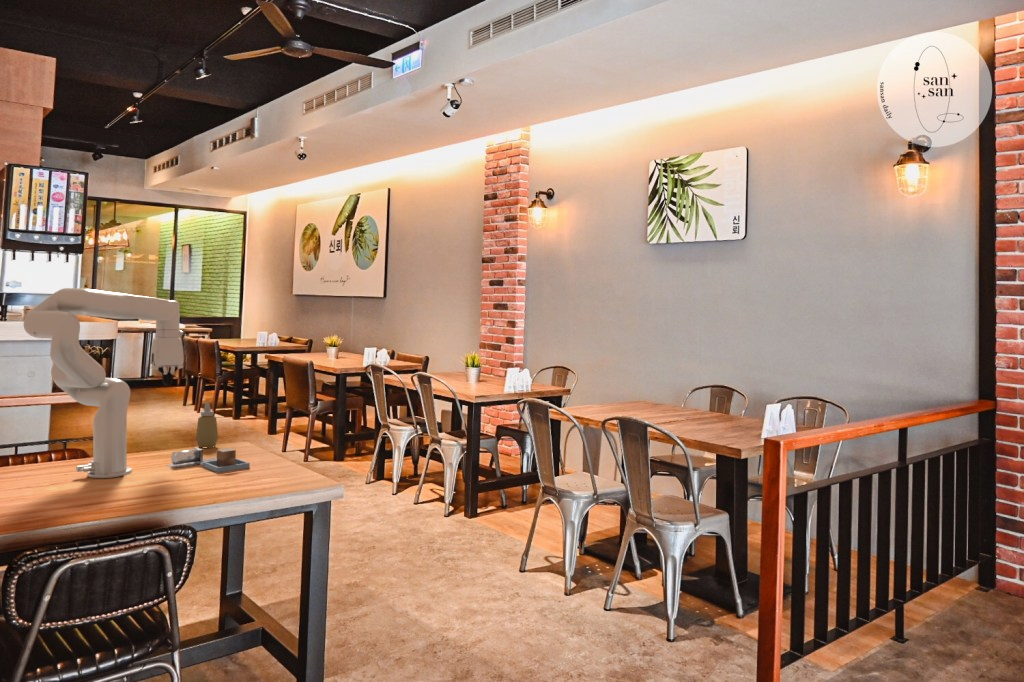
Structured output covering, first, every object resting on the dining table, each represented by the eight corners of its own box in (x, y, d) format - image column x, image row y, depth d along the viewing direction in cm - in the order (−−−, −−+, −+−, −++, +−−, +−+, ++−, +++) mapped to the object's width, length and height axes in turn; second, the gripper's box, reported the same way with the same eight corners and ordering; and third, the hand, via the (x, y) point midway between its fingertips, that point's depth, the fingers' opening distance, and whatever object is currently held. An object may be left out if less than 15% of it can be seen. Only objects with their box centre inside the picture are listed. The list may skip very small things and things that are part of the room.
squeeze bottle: (195, 446, 276) (196, 401, 275) (217, 444, 279) (218, 400, 278) (195, 449, 268) (196, 403, 267) (218, 448, 272) (218, 403, 271)
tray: (217, 474, 231) (217, 467, 231) (202, 468, 239) (202, 462, 239) (249, 469, 240) (249, 462, 240) (234, 463, 247) (234, 457, 247)
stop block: (222, 469, 236) (223, 451, 236) (216, 467, 239) (216, 449, 239) (235, 467, 240) (235, 450, 239) (229, 465, 242) (229, 448, 242)
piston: (177, 466, 237) (177, 453, 237) (170, 463, 241) (170, 450, 240) (202, 462, 244) (202, 449, 243) (196, 460, 247) (196, 447, 247)
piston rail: (174, 469, 236) (174, 468, 236) (166, 466, 240) (166, 465, 240) (227, 462, 249) (227, 460, 249) (218, 458, 254) (218, 457, 254)
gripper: (184, 333, 257) (184, 383, 257) (141, 334, 245) (141, 385, 246) (193, 334, 252) (192, 385, 252) (149, 335, 241) (149, 387, 241)
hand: (167, 385), depth 249 cm, fingers closed
